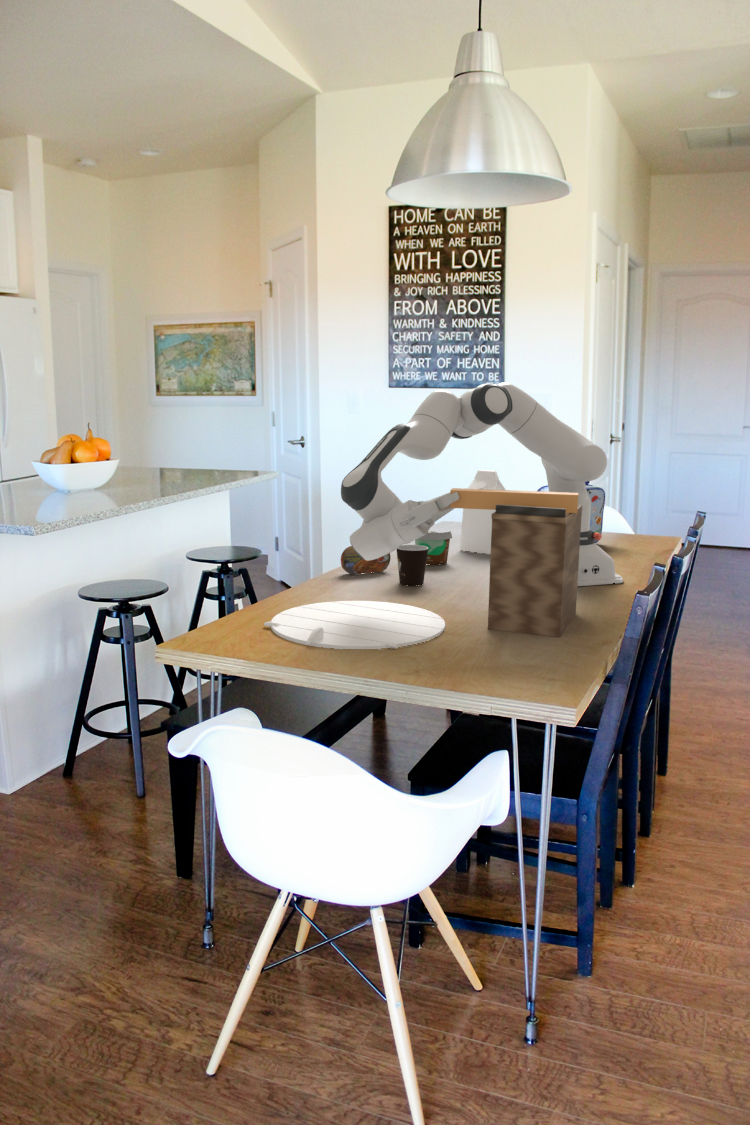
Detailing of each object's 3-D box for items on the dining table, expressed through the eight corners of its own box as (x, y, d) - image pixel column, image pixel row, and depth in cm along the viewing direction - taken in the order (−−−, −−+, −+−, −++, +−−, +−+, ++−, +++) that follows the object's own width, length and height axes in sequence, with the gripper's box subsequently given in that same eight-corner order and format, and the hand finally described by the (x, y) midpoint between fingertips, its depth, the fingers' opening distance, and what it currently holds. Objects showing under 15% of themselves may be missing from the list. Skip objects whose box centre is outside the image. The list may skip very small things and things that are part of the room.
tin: (343, 576, 257) (343, 546, 255) (338, 574, 260) (339, 545, 258) (390, 572, 264) (391, 543, 262) (385, 569, 267) (386, 541, 265)
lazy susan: (391, 663, 180) (391, 646, 179) (232, 634, 198) (232, 619, 198) (472, 619, 214) (473, 605, 213) (330, 598, 233) (330, 585, 232)
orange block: (449, 507, 206) (450, 490, 205) (452, 505, 209) (452, 488, 209) (577, 513, 200) (578, 495, 199) (577, 510, 204) (578, 492, 203)
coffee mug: (424, 588, 244) (425, 551, 242) (393, 586, 245) (393, 549, 243) (431, 579, 255) (431, 543, 253) (400, 577, 256) (401, 542, 254)
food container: (406, 564, 275) (406, 531, 273) (413, 560, 281) (413, 528, 279) (445, 567, 271) (446, 534, 269) (451, 564, 276) (452, 531, 274)
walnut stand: (487, 629, 204) (491, 505, 198) (510, 606, 225) (515, 494, 219) (559, 637, 198) (566, 510, 193) (576, 613, 219) (582, 497, 214)
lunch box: (585, 539, 322) (589, 477, 318) (607, 544, 313) (611, 480, 309) (527, 546, 307) (530, 481, 303) (548, 551, 299) (552, 484, 294)
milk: (508, 549, 301) (511, 470, 296) (493, 554, 292) (496, 473, 287) (475, 545, 308) (478, 468, 302) (459, 550, 298) (462, 470, 293)
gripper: (390, 513, 202) (443, 485, 197) (419, 502, 221) (468, 476, 216) (403, 539, 202) (456, 511, 197) (431, 525, 221) (480, 500, 216)
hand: (463, 493), depth 206 cm, fingers open, 6 cm apart
